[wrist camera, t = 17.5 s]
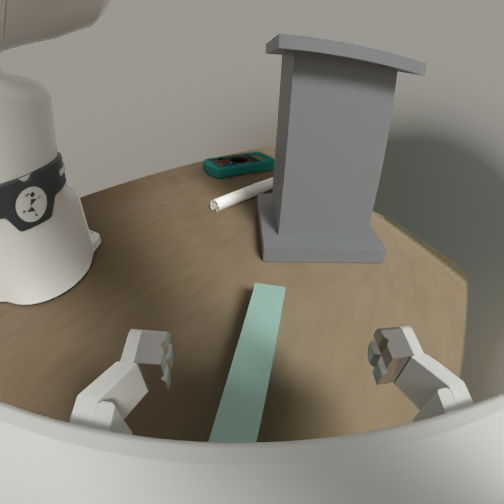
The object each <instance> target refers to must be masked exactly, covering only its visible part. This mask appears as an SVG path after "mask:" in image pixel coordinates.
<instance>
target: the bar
mask: <svg viewBox="0 0 504 504" xmlns="http://www.w3.org/2000/svg"><path fill="white" fill-rule="evenodd" d="M285 288H286V287H280V286H273V285H267V284H261V283H255V286H254V289H253V293H252V296H251V300H250V303H249V307H248V310H247V314H246V317H245V320H244V324H243V327H242V331H241V334H240V338H239V341H238V344H237V348H236V351H235V354H234V358H233V361H232V365H231V368H230V371H229V375H228V378H227V381H226V385H225V388H224V391H223V395H222V398H221V401H220V405H219V408H218V411H217V415H216V418H215V421H214V425H213V428H212V431H211V435H210V438H209V441H208V442H224V443H255V442H257V438H258V433H259V428H260V424H261V419H262V414H263V409H264V404H265V399H266V394H267V389H268V384H269V379H270V374H271V368H272V363H273V358H274V352H275V347H276V341H277V336H278V330H279V325H280V319H281V313H282V307H283V301H284V295H285Z"/></svg>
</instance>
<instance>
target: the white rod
mask: <svg viewBox="0 0 504 504" xmlns="http://www.w3.org/2000/svg"><path fill="white" fill-rule="evenodd" d="M271 189H273V177H271V178H269V179H266V180H263V181H261V182H258V183H255V184H252V185H250V186H246V187H244V188H242V189H239V190H237V191H234V192H231V193H229V194H226V195H224V196H221V197H219V198H216V199H214V200H212V201H211V204H210V206H211V209H213V210H215V209H216V211H217V212H218V211H221V210H224V209H226V208H228V207H231V206H233V205H235V204H238V203H240V202H242V201H245V200H247V199H249V198H252V197H254V196H257V195H258V193H264V192H266V191H269V190H271Z"/></svg>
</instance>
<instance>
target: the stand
mask: <svg viewBox="0 0 504 504" xmlns="http://www.w3.org/2000/svg"><path fill="white" fill-rule="evenodd" d="M266 53H267V54H281V55H282V68H281V83H280V98H279V111H278V126H277V138H276V151H275V164H274V177H273V189H272V194H268V193H258V195H257V210H258V219H259V228H260V238H261V247H262V257H263V261H269V262H335V263H383V260H384V256H385V253H386V249H385V248H384V246H383V244H382V243H381V241H380V240H379V238H378V237H377V235H376V234H375V232H374V231H373V229H372V228H371V226H370V225H369V223H370V219H371V214H372V210H373V206H374V202H375V197H376V193H377V188H378V184H379V179H380V175H381V170H382V165H383V160H384V154H385V149H386V144H387V138H388V133H389V127H390V120H391V114H392V107H393V100H394V93H395V85H396V77H397V71H399V72H405V73H411V74H417V75H423V76H425V71H426V63H423V62H420V61H416V60H413V59H410V58H407V57H403V56H400V55H396V54H392V53H389V52H384V51H381V50H377V49H372V48H368V47H363V46H359V45H354V44H348V43H344V42H338V41H332V40H326V39H320V38H312V37H305V36H296V35H287V34H278V35H277V36H276V37H275V38H273V39H272V40H271V41H270V42H268V43H267V44H266Z"/></svg>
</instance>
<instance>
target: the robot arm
mask: <svg viewBox="0 0 504 504" xmlns="http://www.w3.org/2000/svg"><path fill="white" fill-rule="evenodd" d="M110 1H111V0H0V53H1V52H2V51H3V49H4V50H8V49H11V48H15V47H19V46H23V45H26V44H31V43H35V42H40V41H44V40H50V39H55V38H58V37H61V36H64V35H67V34H70V33H73V32H75V31H79V30H81V29H84V28H87V27H90V26H92V25H93V24H94V23H95V22H96V21H97V20H98V19H99V18H100V17H101V16H102V14H103V13H104V12H105V10H106V9H107V7H108V5H109V3H110ZM64 170H65V168H64V163H63V162H62V157H61V154H60V153H59V152H57V147H56V139H55V132H54V124H53V113H52V103H51V97H50V94H49V92H48V90H47V89H46V87H45V86H44V85H42V84H41V83H39V82H38V81H35V80H33V79H30V78H27V77H23V76H18V75H12V74H8V73H5V72H3V71H1V70H0V302H4V301H5V302H11V303H14V304H20V305H30V304H36V303H41V302H44V301H47V300H50V299H52V298H54V297H57V296H59V295H60V294H62V293H64V292H66V291H67V290H69V289H70V288H71V287H73V286H74V285H75V284H76V283H77V282H79V281H80V280H81V279H82V277H83V276H84V275H85V274H86V272H87V271H88V269H89V267H90V265H91V262H92V258H93V253H94V251H95V250H96V249H97V248H98V246H99V245H100V243H101V238H100V235H99V234H98V233H96V232H94V231H92V230H89V228H88V225H87V221H86V218H85V214H84V211H83V207H82V203H81V200H80V196H79V194H78V192H77V191H75V190H73V189H71V188H69V187H67V186H66V185H65V183H66V178H65V172H64ZM374 337H375V339H374V340H372V341H371V342H370V344H369V347H368V359H369V362H370V364H371V365H372V366H373V367H375V368H374V370H373V375H374V378H375V381H376V384H377V385H379V384H388V383H394V384H395V385H396V386H397V387H398V388H399V389H400V390H401V391H402V392H403V393H404V394H405V395H406V396H407V397H408V398H409V399H410V400H411V401H412V402H413V403H414V404H415V405H416V406H417V408H418V409H419V410H420V412H419V413H418V414H417V415H416V416H415V417H414V419H413V422H411V423H407V424H403V425H398V426H394V427H389V428H384V429H379V430H374V431H368V432H362V433H356V434H350V435H343V436H335V437H327V438H318V439H308V440H296V441H281V442H255V443H224V442H198V441H182V440H171V439H161V438H152V437H144V436H136V435H132V431H131V430H130V428H129V427H128V426H127V424H126V422H125V421H124V419H125V418H126V417H127V416H128V414H129V413H130V412H131V411H132V410H133V409H134V407H135V406H136V405H137V404H138V403H139V402H140V400H141V399H142V398H143V397H144V396H145V394H146V393H147V392H148V390H155V391H169V388H170V381H171V375H170V370H171V369H172V368H173V357H174V354H173V346H172V345H171V344H170V339H171V337H170V333H169V332H165V331H153V330H140V329H131V330H130V331H129V333H128V337H127V340H126V343H125V346H124V350H123V353H122V357H121V360H120V362H119V361H116V362H115V363H114V364H113V365H112V366H111V367H110V368H108V369H107V370H106V371H105V372H104V373H103V374H101V375H100V376H99V377H98V378H97V379H96V380H95V381H93V382H92V383H91V384H90V385H89V386H88V387H86V388H85V389H84V390H83V391H82V392H81V393H80V394H78V395H77V398H76V402H75V405H74V408H73V411H72V415H71V418H70V422H65V421H61V420H57V419H53V418H50V417H46V416H43V415H39V414H36V413H33V412H29V411H26V410H23V409H20V408H17V407H14V406H12V405H9V404H6V403H3V402H0V504H504V393H502V394H499V395H497V396H494V397H492V398H489V399H486V400H484V401H481V402H478V403H475V404H474V403H473V401H472V399H471V396H470V394H469V392H468V390H467V387H466V385H465V383H464V382H463V381H462V380H461V379H459V378H458V377H457V376H455V375H454V374H453V373H452V372H450V371H449V370H448V369H446V368H445V367H444V366H442V365H441V364H440V363H438V362H437V361H436V360H434V359H433V358H432V357H430V356H429V355H428V354H424V353H423V350H422V348H421V346H420V344H419V342H418V340H417V338H416V336H415V334H414V332H413V330H412V328H411V327H410V326H403V327H391V328H380V329H377V330H376V331H375V333H374Z"/></svg>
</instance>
